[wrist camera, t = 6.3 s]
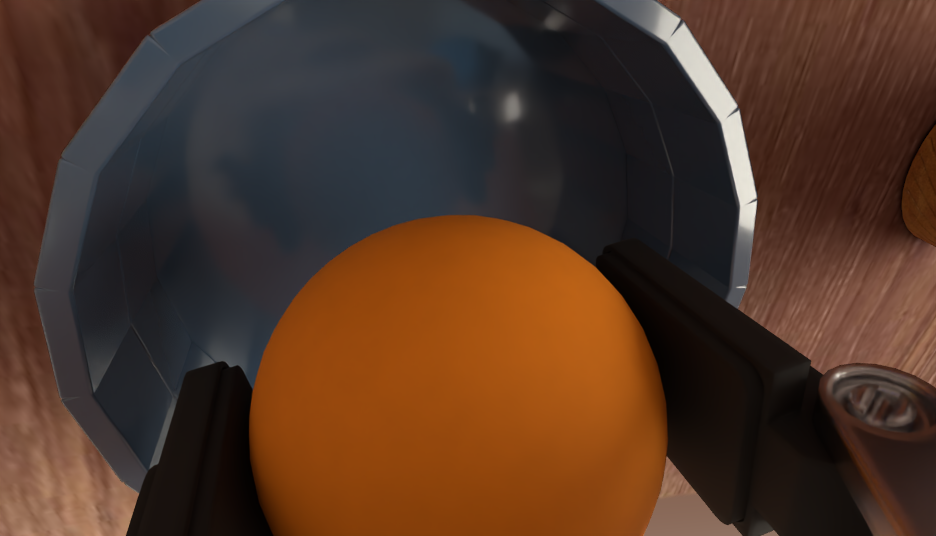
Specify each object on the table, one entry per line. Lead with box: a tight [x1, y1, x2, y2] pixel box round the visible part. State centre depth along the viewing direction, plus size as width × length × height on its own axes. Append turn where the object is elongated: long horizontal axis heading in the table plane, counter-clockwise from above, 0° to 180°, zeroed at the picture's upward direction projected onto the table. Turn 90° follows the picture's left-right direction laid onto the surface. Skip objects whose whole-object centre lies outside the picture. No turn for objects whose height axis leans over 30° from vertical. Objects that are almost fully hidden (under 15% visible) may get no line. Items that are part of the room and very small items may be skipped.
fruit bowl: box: [34, 0, 758, 493], centre depth 12 cm, size 13×13×5 cm
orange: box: [249, 215, 668, 536], centre depth 9 cm, size 6×6×6 cm
